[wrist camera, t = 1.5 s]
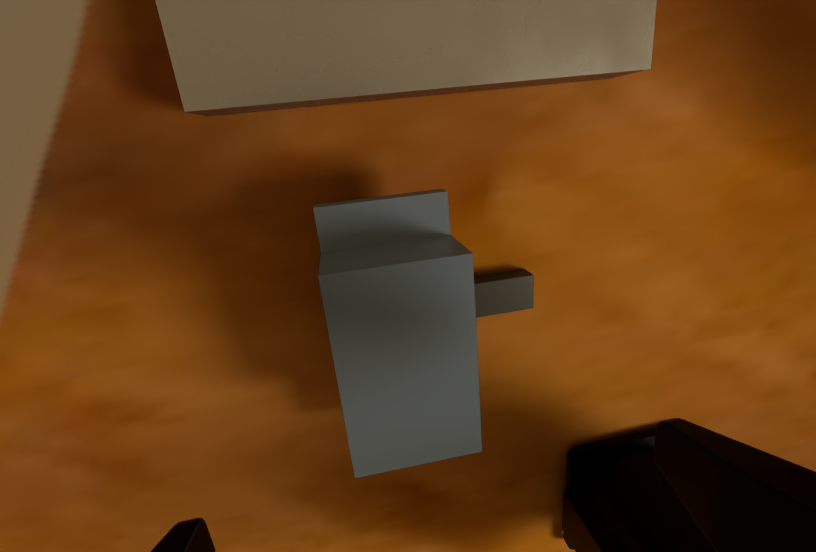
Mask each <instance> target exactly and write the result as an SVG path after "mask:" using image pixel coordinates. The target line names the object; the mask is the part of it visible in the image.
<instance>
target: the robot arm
mask: <svg viewBox="0 0 816 552" xmlns="http://www.w3.org/2000/svg"><path fill="white" fill-rule="evenodd" d="M562 529H563V531H564V540H565V542H566V544H567V546H568V547H569V548H570V549H574V550H575V551H576V552H816V472H814V471H812V470H809V469H807V468H804V467H802V466H799V465H797V464H794V463H792V462H789V461H787V460H784V459H782V458H779V457H777V456H774V455H771V454H769V453H766V452H764V451H761V450H759V449H756V448H754V447H751V446H749V445H746V444H744V443H741V442H739V441H736V440H734V439H731V438H729V437H726V436H724V435H721V434H718V433H716V432H713V431H711V430H708V429H706V428H703V427H701V426H698V425H696V424H693V423H691V422H688V421H686V420H683V419H680V418H673V419H669V420H664V421H660V422H659V423H658V424H657V427H656V429H653V430H648V431H644V432H639V433H634V434H630V435H625V436H620V437H616V438H611V439H606V440H602V441H597V442H593V443H588V444H583V445H579V446H575V447H573V448H571V449H570V450H569V452H568V454H567V465H566V488H565V491H564V493H563V517H562ZM151 552H215V548H214V545H213V542H212V539H211V536H210V533H209V531H208V528H207V525H206V523H205V521H204V520H203V519H202V518H195V519H191V520H186V521H181V522H179V523H177V524H176V525H175V526H174V527H173V528H172V529H171V530H170V531H169V532H168V533H167V534H166V535H165V536H164V538H163V539H162V540H161V541H160V542H159V543H158V544H157V545H156V546H155V547H154V548H153V550H152V551H151Z"/></svg>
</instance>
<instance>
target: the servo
mask: <svg viewBox="0 0 816 552" xmlns="http://www.w3.org/2000/svg"><path fill="white" fill-rule="evenodd" d="M313 211H314V216H315V222H316V228H317V233H318V239H319V245H320V250H321V257H320V264H319V271H318V280H319V285H320V290H321V296H322V301H323V307H324V312H325V318H326V323H327V329H328V334H329V340H330V345H331V350H332V356H333V361H334V367H335V372H336V378H337V383H338V389H339V394H340V399H341V405H342V410H343V416H344V421H345V427H346V432H347V438H348V443H349V448H350V454H351V459H352V465H353V470H354V476H355V478H359V477H364V476H369V475H374V474H378V473H383V472H388V471H393V470H397V469H402V468H407V467H412V466H417V465H421V464H426V463H431V462H436V461H440V460H445V459H450V458H455V457H459V456H464V455H469V454H474V453H478V452H482V436H481V416H480V395H479V374H478V353H477V332H476V317H482V316H488V315H494V314H500V313H506V312H512V311H518V310H524V309H530V308H533V276H534V275H533V274H531V273H530V272H528V271H527V270H525V269H522V270H515V271H509V272H502V273H495V274H489V275H482V276H476V277H474V269H473V253H472V252H471V251H469V250H468V249H467V248H466V247H464V246H463V245H462V244H461V243H460V242H458V241H457V240H456V239H455V238H453V237H452V236H451V235H450V221H449V206H448V191H446V190H443V189H436V190H428V191H420V192H412V193H404V194H396V195H387V196H379V197H371V198H363V199H355V200H347V201H339V202H331V203H323V204H315V205H314V207H313Z"/></svg>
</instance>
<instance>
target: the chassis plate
mask: <svg viewBox="0 0 816 552" xmlns="http://www.w3.org/2000/svg"><path fill="white" fill-rule="evenodd" d="M155 1H156V5H157V9H158V13H159V17H160V20H161V24H162V28H163V32H164V36H165V39H166V43H167V47H168V51H169V55H170V59H171V62H172V66H173V70H174V74H175V78H176V81H177V85H178V89H179V93H180V97H181V101H182V104H183V108H184V112H188V113H193V114H198V115H203V116H214V115H225V114H235V113H246V112H257V111H267V110H278V109H289V108H299V107H310V106H321V105H332V104H342V103H353V102H364V101H374V100H385V99H396V98H406V97H417V96H428V95H438V94H449V93H460V92H471V91H481V90H492V89H503V88H513V87H524V86H535V85H545V84H556V83H567V82H577V81H588V80H599V79H610V78H614V77H619V76H623V75H627V74H632V73H636V72H640V71H645V70H649V69H651V59H652V48H653V37H654V26H655V14H656V3H657V0H155Z"/></svg>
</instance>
